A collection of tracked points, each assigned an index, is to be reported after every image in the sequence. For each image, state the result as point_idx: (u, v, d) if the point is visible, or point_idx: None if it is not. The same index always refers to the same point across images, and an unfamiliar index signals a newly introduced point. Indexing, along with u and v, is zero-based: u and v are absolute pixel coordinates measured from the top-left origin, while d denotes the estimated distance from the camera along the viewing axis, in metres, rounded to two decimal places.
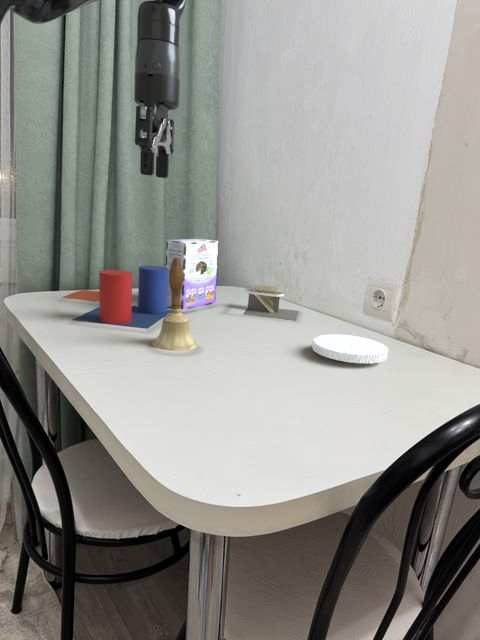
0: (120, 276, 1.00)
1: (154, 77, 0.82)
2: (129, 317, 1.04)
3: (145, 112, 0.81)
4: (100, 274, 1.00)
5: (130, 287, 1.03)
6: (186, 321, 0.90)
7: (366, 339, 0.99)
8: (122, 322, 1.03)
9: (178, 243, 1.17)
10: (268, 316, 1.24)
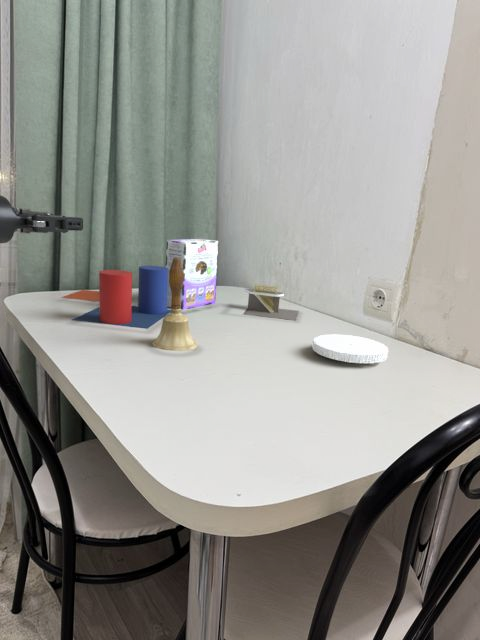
0: (120, 276, 1.00)
1: None
2: (129, 317, 1.04)
3: (40, 221, 0.80)
4: (100, 274, 1.00)
5: (130, 287, 1.03)
6: (186, 321, 0.90)
7: (366, 339, 0.99)
8: (122, 322, 1.03)
9: (178, 243, 1.17)
10: (268, 316, 1.24)
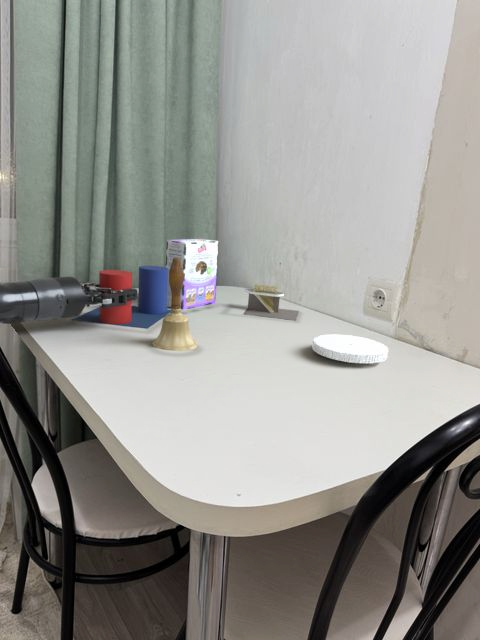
0: (120, 276, 1.00)
1: (68, 298, 0.91)
2: (129, 317, 1.04)
3: (108, 299, 0.94)
4: (100, 274, 1.00)
5: (130, 287, 1.03)
6: (186, 321, 0.90)
7: (366, 339, 0.99)
8: (122, 322, 1.03)
9: (178, 243, 1.17)
10: (268, 316, 1.24)
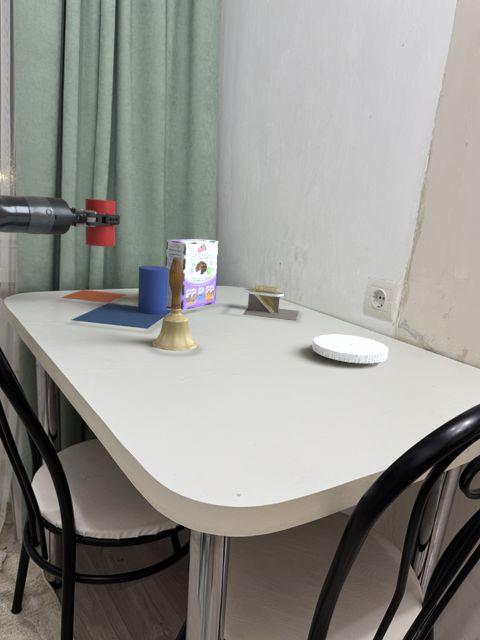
0: (104, 201, 1.12)
1: (56, 213, 1.02)
2: (112, 241, 1.16)
3: (92, 217, 1.06)
4: (86, 200, 1.12)
5: (113, 213, 1.14)
6: (186, 321, 0.90)
7: (366, 339, 0.99)
8: (106, 245, 1.14)
9: (178, 243, 1.17)
10: (268, 316, 1.24)
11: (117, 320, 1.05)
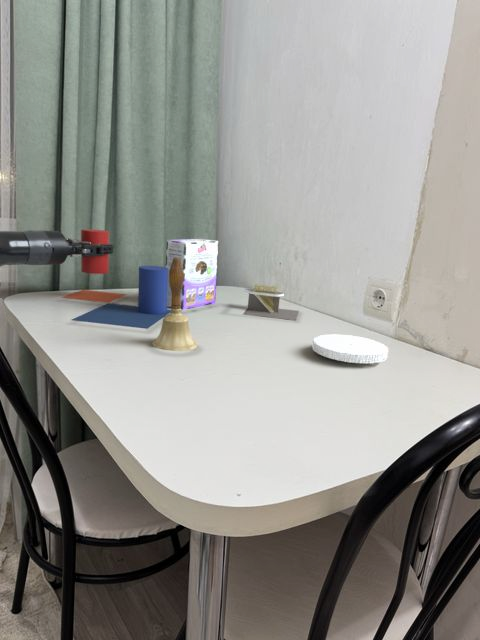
0: (98, 233, 1.20)
1: (54, 246, 1.11)
2: (106, 268, 1.24)
3: (87, 249, 1.14)
4: (81, 231, 1.21)
5: (107, 243, 1.23)
6: (186, 321, 0.90)
7: (366, 339, 0.99)
8: (100, 272, 1.23)
9: (178, 243, 1.17)
10: (268, 316, 1.24)
11: (117, 320, 1.05)
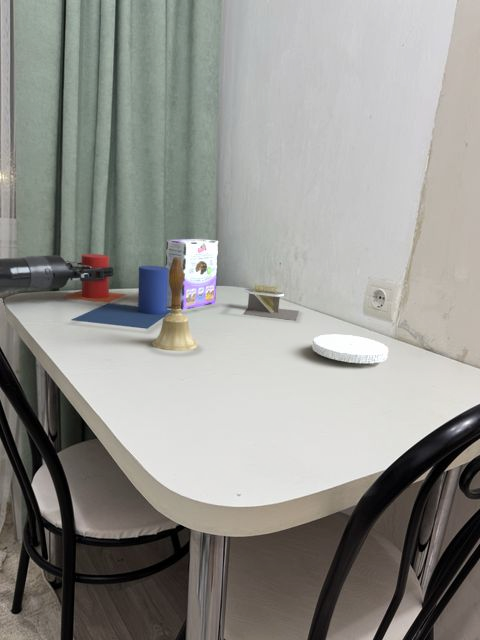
0: (98, 258, 1.22)
1: (54, 271, 1.13)
2: (106, 293, 1.26)
3: (86, 273, 1.16)
4: (82, 257, 1.23)
5: None
6: (186, 321, 0.90)
7: (366, 339, 0.99)
8: (100, 296, 1.25)
9: (178, 243, 1.17)
10: (268, 316, 1.24)
11: (117, 320, 1.05)
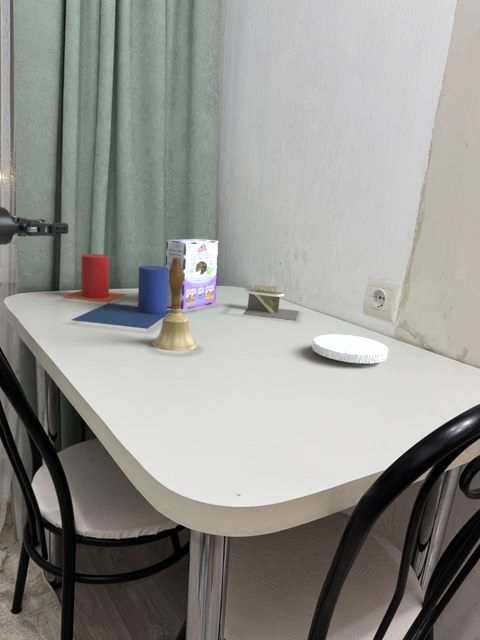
0: (98, 258, 1.22)
1: None
2: (106, 293, 1.26)
3: (33, 227, 1.02)
4: (82, 257, 1.23)
5: (107, 268, 1.25)
6: (186, 321, 0.90)
7: (366, 339, 0.99)
8: (100, 296, 1.25)
9: (178, 243, 1.17)
10: (268, 316, 1.24)
11: (117, 320, 1.05)
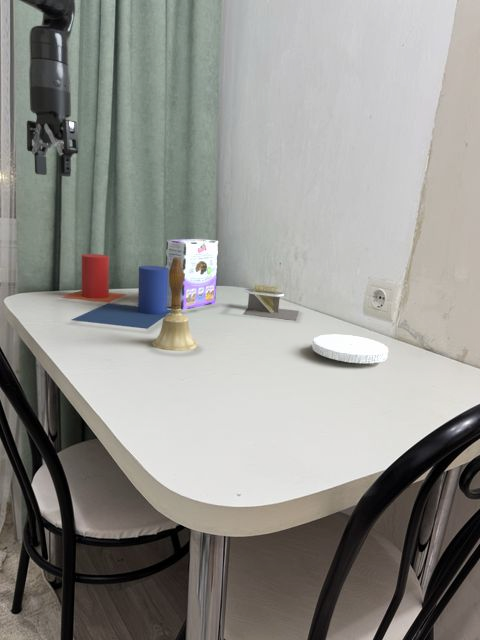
0: (98, 258, 1.22)
1: None
2: (106, 293, 1.26)
3: None
4: (82, 257, 1.23)
5: (107, 268, 1.25)
6: (186, 321, 0.90)
7: (366, 339, 0.99)
8: (100, 296, 1.25)
9: (178, 243, 1.17)
10: (268, 316, 1.24)
11: (117, 320, 1.05)
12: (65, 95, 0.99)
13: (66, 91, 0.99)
